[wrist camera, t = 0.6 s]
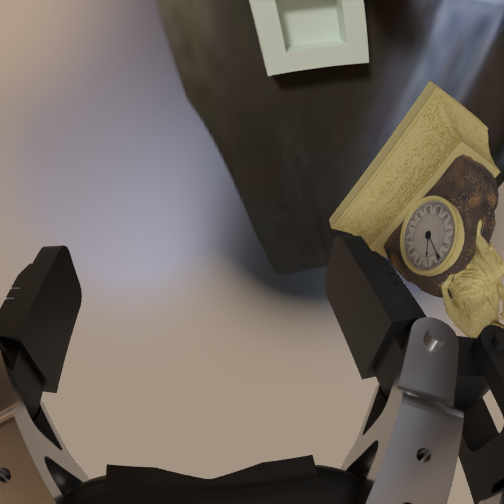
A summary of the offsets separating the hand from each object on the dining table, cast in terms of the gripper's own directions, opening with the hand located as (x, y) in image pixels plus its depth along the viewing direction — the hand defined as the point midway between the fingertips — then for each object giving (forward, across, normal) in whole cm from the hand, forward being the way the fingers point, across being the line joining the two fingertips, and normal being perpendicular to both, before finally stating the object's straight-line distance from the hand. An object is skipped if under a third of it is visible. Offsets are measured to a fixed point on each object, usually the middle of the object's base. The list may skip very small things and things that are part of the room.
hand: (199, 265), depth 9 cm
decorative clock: (+33, -31, +8) cm, 46 cm away
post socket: (+28, -11, -11) cm, 32 cm away
